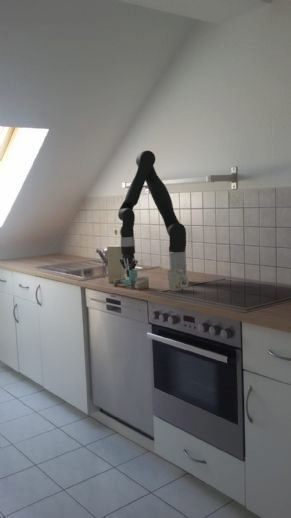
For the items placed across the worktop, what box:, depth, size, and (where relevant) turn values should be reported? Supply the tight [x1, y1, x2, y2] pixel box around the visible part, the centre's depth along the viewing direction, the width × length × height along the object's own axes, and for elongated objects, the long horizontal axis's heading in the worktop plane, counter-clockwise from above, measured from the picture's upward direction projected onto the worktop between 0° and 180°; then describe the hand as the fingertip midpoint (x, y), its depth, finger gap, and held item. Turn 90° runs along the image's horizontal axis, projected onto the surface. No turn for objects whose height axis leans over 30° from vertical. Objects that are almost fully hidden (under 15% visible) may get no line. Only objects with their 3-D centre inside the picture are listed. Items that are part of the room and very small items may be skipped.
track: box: [113, 276, 150, 291], centre depth 277 cm, size 20×8×6 cm, turn 42°
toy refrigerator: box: [106, 244, 126, 284], centre depth 295 cm, size 8×7×21 cm
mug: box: [166, 269, 190, 292], centre depth 261 cm, size 8×13×10 cm, turn 51°
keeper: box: [125, 268, 138, 285], centre depth 276 cm, size 5×5×8 cm
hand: (129, 276), depth 278 cm, fingers closed
